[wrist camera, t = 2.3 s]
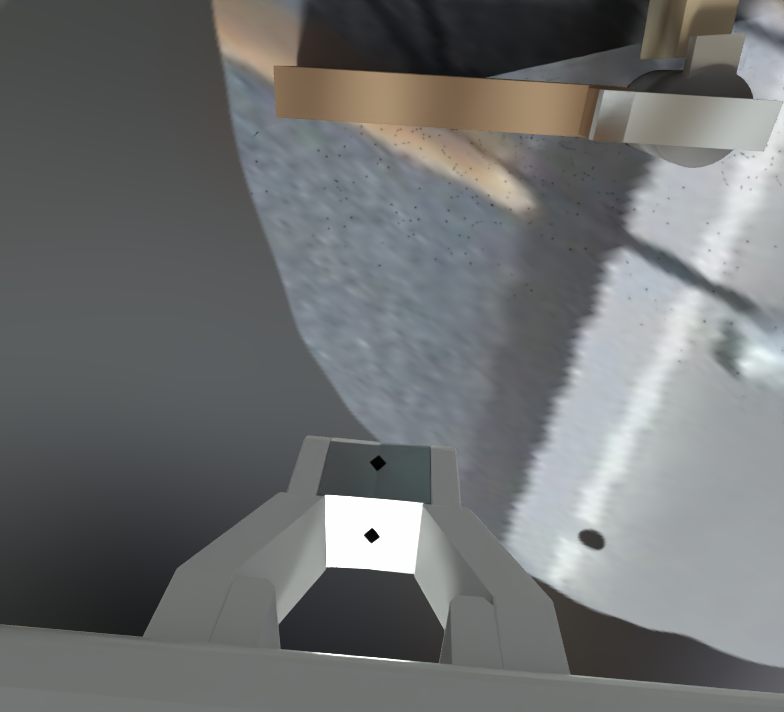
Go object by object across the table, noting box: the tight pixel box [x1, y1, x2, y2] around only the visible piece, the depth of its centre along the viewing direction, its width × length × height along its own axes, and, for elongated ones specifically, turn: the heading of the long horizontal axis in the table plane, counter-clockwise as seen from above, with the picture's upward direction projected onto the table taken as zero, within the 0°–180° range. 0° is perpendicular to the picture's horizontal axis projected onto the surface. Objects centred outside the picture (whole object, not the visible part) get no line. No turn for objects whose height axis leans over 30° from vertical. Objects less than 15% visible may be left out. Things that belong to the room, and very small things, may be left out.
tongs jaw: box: [274, 66, 784, 151], centre depth 23 cm, size 20×2×6 cm, turn 87°
